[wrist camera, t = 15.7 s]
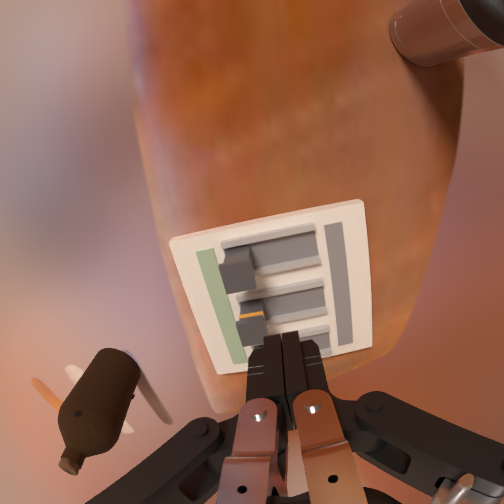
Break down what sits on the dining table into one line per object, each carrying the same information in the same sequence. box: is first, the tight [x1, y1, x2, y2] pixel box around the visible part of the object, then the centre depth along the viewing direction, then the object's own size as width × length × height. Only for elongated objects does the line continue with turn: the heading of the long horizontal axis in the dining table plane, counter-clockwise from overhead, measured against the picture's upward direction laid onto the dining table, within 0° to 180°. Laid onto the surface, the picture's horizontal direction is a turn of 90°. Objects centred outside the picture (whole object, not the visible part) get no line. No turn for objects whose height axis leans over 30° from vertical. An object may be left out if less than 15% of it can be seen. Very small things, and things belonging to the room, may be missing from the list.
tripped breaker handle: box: [236, 299, 269, 347], centre depth 40 cm, size 4×4×6 cm
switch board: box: [169, 199, 372, 374], centre depth 41 cm, size 26×24×8 cm
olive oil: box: [58, 348, 140, 475], centre depth 40 cm, size 11×11×25 cm
